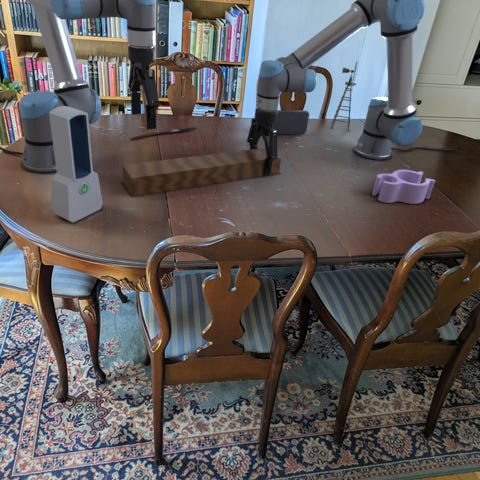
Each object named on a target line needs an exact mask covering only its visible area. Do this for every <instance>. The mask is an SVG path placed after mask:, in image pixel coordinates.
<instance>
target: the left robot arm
mask: <svg viewBox="0 0 480 480" xmlns="http://www.w3.org/2000/svg"><path fill="white" fill-rule="evenodd" d="M25 2H26V3H28V4H30V6H32V9H33V12H34V16H35V18H36V23H37V25H38V27H39V28H38V29H39V31H40V35H41V38H42V42H43V44H44V48H45V51H46V55H47V58H48V61H49V64H50V68H51V71H52V74H53V77H54V81H55V86H54V87H53V90H52V91H51V90H42V91H41V90H37V91H32V92H29V93H26V94H24V95H23V96H22V97H21V98H20V100H19V103H18V104H19V116H20V119H21V126H22V132H23V137H24V148H23V152H21V151H13V150H8V149H6V148H3V147H2V146H0V150H1V151H2V152H4V153H6V154H11V155H17V156H22V158H21V159H22V160H21V161H22V166H23V168H24V169H25V170H27V171H29V172H33V173H39V174H46V173H57V170H56V162H55V155H54V147H53V140H52V132H51V124H50V117H49V112H50V111H52V110H53V109H55V108H57V107H60V106H67V107H71V108H74V109H77V110H80V111H83V112H86V113H88V120H89V125H92V124H95V123H97V122H98V121H99V119H100V118H101V115H102V101H101V97H100V96H99V94H98V93H97V91H96V90H95V89H93V88H91V87H90V84H89V82H87V81H86V80H84V79H83V77H82V73H81V69H80V67H79V63H78V59H77V56H76V53H75V49H74V45H73V42H72V38H71V35H70V31H69V28H68V24H67V20H69V21H77V20H88V19H89V20H90V19H104V18H105V19H106V18H108V19H109V18H120V19H123V20H126V41H127V44H128V45H129V46H128V47H127V56H128V61H129V62H130V68H129V76H128V84H127V87H128V89H129V92H130V101H131V102H130V103H131V115H141V114H142V103H141V102H142V99H141V98H142V97H141V92H142V90H143V93H144V98H145V102H146V104H145V106H144V107H145V111H146V112H145V117H146V118H145V120H146V123H145V124H146V130H155V129H157V108H159V107H160V99H159V93H158V86H157V81H156V70H155V69H154V68H153V69H152V68H151V64H152V63H155V62H156V61H157V60H156V59H157V55H156V54H157V53H156V50H157V49H156V47H155V46H156V37H157V36H158V33H156V2H157V1H156V0H25ZM141 86H142V89H141Z"/></svg>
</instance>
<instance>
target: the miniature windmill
mask: <svg viewBox="0 0 480 480" xmlns="http://www.w3.org/2000/svg"><path fill="white" fill-rule="evenodd" d="M357 66H358V61H356V62H355V67H354V69H351V70H350V69H349V68H347V67H343V68H342V71H341V73H342V74H348V73H351V74H350V76H349V80H348V81H344V85H346V86H345V89H344V91H343V94H342V96H341V99H340V101H339V104H338V106H337V109H336V111H335V114H334V115H333V119H332V120H331V124H332V125H331V129H333V128H334V126H335V123H336V122H341V123H347V131H350V124H351V109H352V107H351V106H352V105H351V104H352V91H353V89H352V87H355V86H357V83H356V82H354V80H355V75H356V70H357ZM347 92H349V96H346V94H347ZM344 101H346V102H347V101H348V102H349V103H348V105H342V104H343V102H344ZM341 107H342V108H341ZM344 108H347V109H344ZM340 111H345V112H348V116H344V115H339V112H340ZM337 118H345V119H348V120H347V121H346V120H345V121H344V120H338V119H337Z"/></svg>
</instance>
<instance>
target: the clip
mask: <svg viewBox="0 0 480 480" xmlns="http://www.w3.org/2000/svg"><path fill="white" fill-rule="evenodd" d="M423 175H424V171H420V170H419V171H414V170H412V169H411V170H410V169H397V170H394V171H393V172H392V173H379V174H377V175H376V179H375V182H374V186H373V189H372V193H371V196H373V197H376V196H377V195H378V198H377V201H379V202H381V203H387V204H392V203H395V202H402V203H404V204H405V203H406V204H413V205H416V204H421V203H423V202H424V201H425V200H429V199H430V197H431V194H432V191H433V188H434V185H435V182H436V180H435V179H433V178H425V179H424V182H422V183H421V181H422V177H423Z"/></svg>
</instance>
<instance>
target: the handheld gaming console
mask: <svg viewBox="0 0 480 480" xmlns="http://www.w3.org/2000/svg"><path fill="white" fill-rule="evenodd" d="M309 118H310V113H309V111H308V110H303V109H301V110H299V109H284V110H283V109H281V110H278V109H277V118H276V121H275V122H274V123H273V129H274V130H278V135H293V134H294V135H297V134H298V135H300V134H305V133H306V132H307V130H308V123H309Z"/></svg>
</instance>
